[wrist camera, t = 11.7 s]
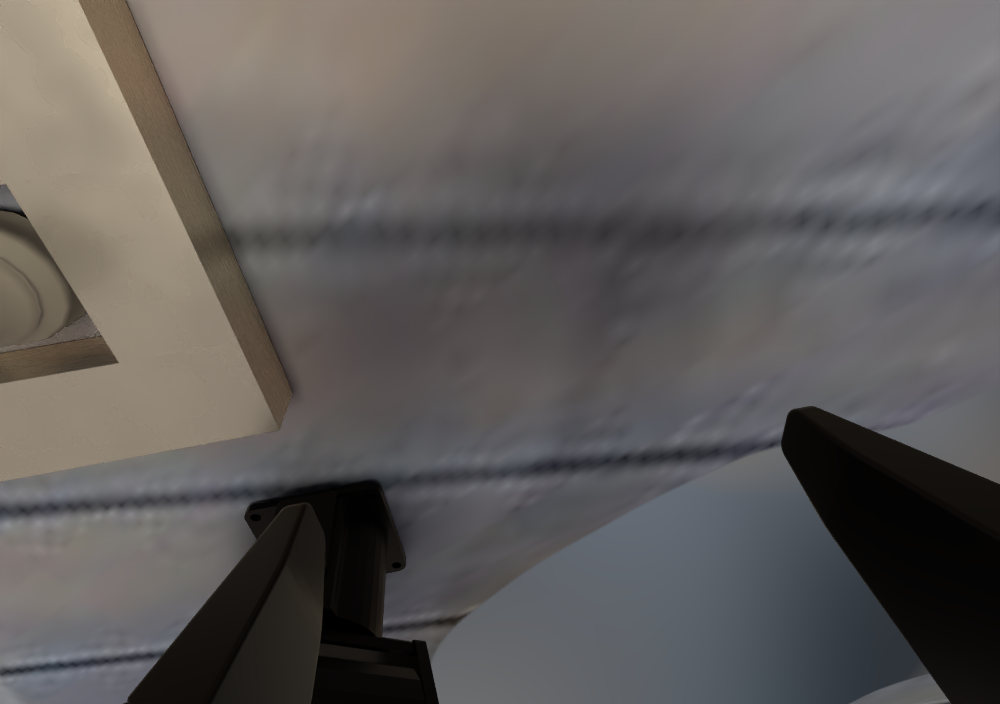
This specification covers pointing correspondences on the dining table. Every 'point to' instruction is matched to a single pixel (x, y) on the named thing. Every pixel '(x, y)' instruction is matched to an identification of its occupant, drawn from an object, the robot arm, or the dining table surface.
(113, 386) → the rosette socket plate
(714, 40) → the dining table surface
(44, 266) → the rook chess piece
